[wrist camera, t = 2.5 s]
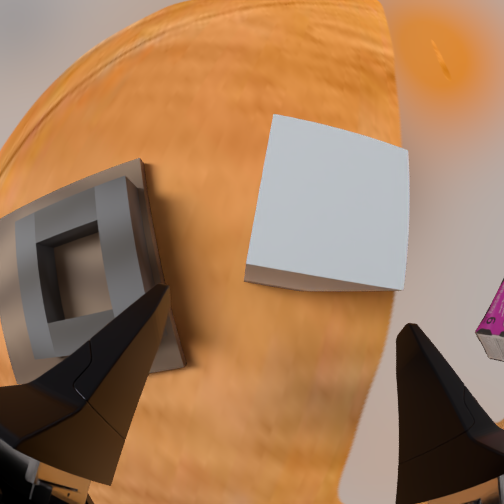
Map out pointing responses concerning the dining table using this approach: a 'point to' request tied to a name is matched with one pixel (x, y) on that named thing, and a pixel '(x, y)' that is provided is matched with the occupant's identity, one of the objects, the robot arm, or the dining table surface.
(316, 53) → the dining table surface
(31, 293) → the grey square socket base
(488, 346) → the candy bar box
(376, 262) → the white block
